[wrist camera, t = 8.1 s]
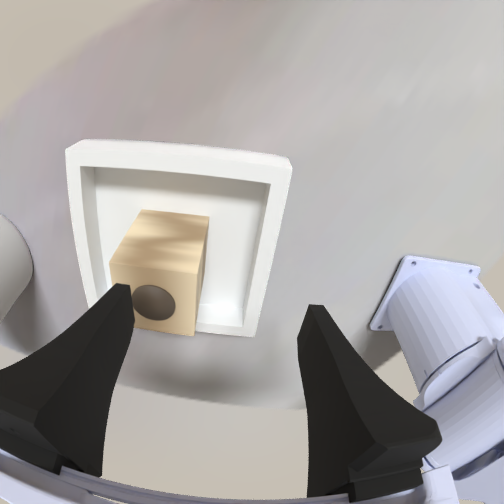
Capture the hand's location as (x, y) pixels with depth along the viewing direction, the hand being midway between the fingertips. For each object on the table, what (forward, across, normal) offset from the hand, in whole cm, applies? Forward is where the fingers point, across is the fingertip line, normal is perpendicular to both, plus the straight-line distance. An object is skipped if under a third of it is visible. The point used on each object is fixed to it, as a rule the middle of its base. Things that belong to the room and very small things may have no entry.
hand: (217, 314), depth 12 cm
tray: (+9, +4, +2) cm, 10 cm away
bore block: (+9, +4, +2) cm, 10 cm away
